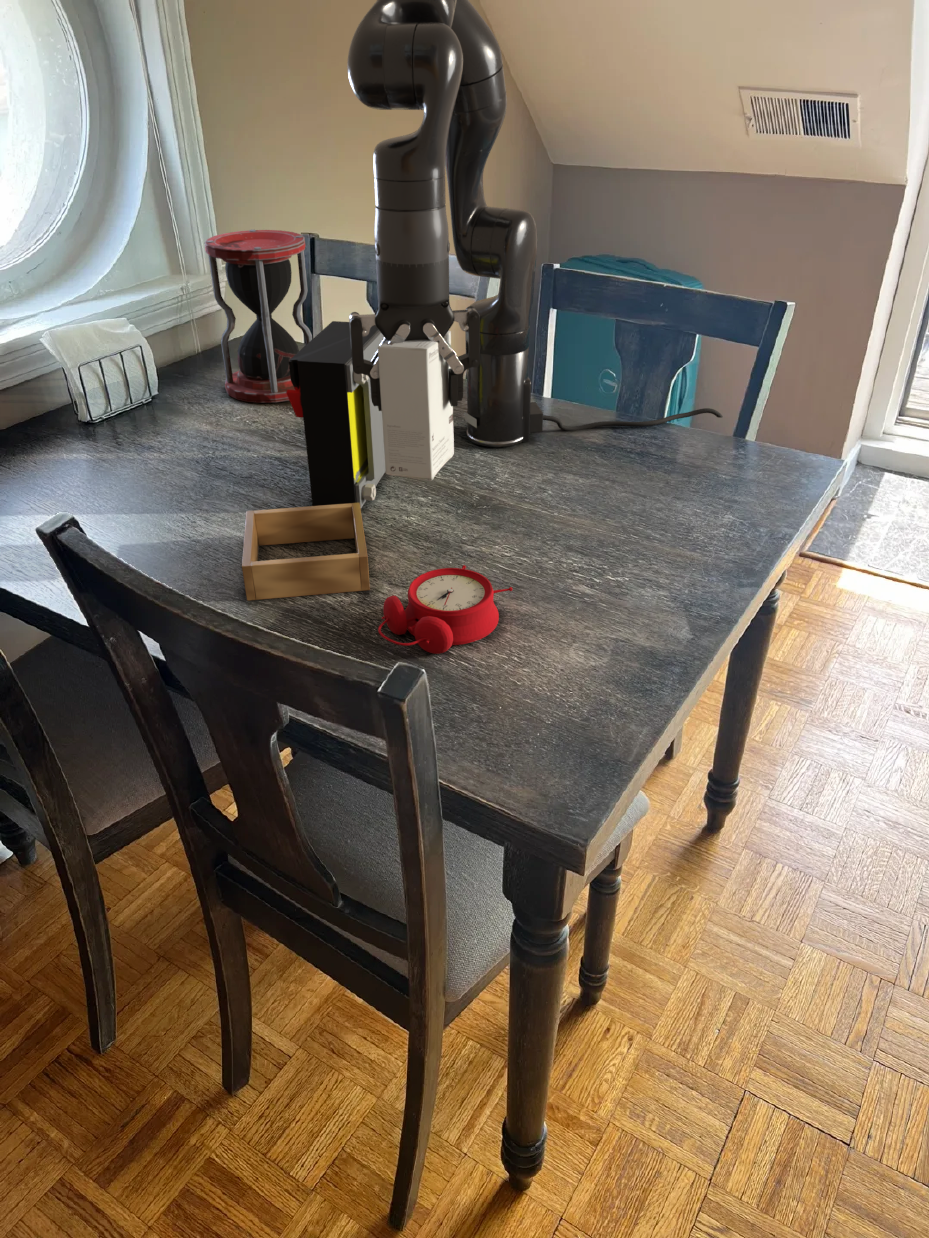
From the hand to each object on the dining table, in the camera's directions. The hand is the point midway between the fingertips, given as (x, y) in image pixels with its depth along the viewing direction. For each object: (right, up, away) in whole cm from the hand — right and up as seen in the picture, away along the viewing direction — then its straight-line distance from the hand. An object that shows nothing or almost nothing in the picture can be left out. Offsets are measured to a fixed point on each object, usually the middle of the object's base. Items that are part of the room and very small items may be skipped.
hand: (417, 406), depth 105 cm
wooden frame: (-14, -17, +9) cm, 24 cm away
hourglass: (-29, +17, +62) cm, 70 cm away
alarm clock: (+3, -25, -3) cm, 25 cm away
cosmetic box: (0, -6, +4) cm, 7 cm away
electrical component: (-10, -4, +29) cm, 31 cm away
